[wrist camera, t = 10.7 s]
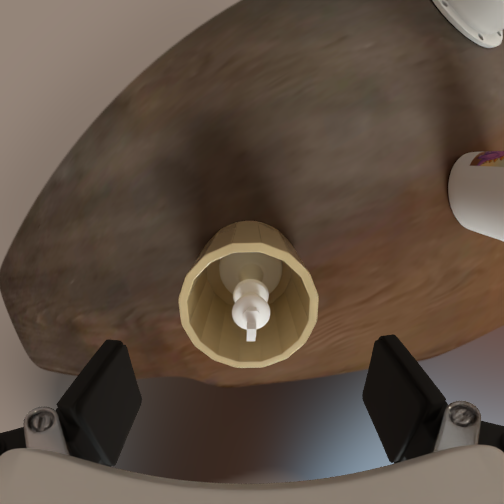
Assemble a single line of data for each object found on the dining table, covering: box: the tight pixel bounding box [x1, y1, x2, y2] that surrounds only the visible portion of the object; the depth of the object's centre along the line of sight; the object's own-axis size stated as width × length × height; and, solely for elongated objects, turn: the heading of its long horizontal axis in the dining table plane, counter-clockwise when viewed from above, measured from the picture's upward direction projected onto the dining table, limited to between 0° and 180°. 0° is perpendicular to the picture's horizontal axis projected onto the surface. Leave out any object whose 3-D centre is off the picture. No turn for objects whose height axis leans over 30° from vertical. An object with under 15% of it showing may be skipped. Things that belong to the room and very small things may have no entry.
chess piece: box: [219, 252, 282, 341], centre depth 18 cm, size 5×5×10 cm
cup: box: [178, 221, 319, 368], centre depth 19 cm, size 8×8×8 cm
